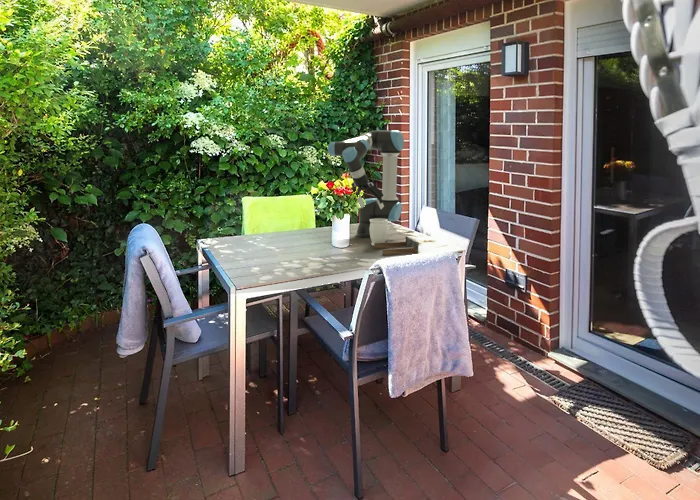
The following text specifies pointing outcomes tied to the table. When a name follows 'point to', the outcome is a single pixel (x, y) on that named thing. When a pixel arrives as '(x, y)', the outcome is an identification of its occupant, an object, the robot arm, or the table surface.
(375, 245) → the channel
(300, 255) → the table surface
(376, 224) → the jar
